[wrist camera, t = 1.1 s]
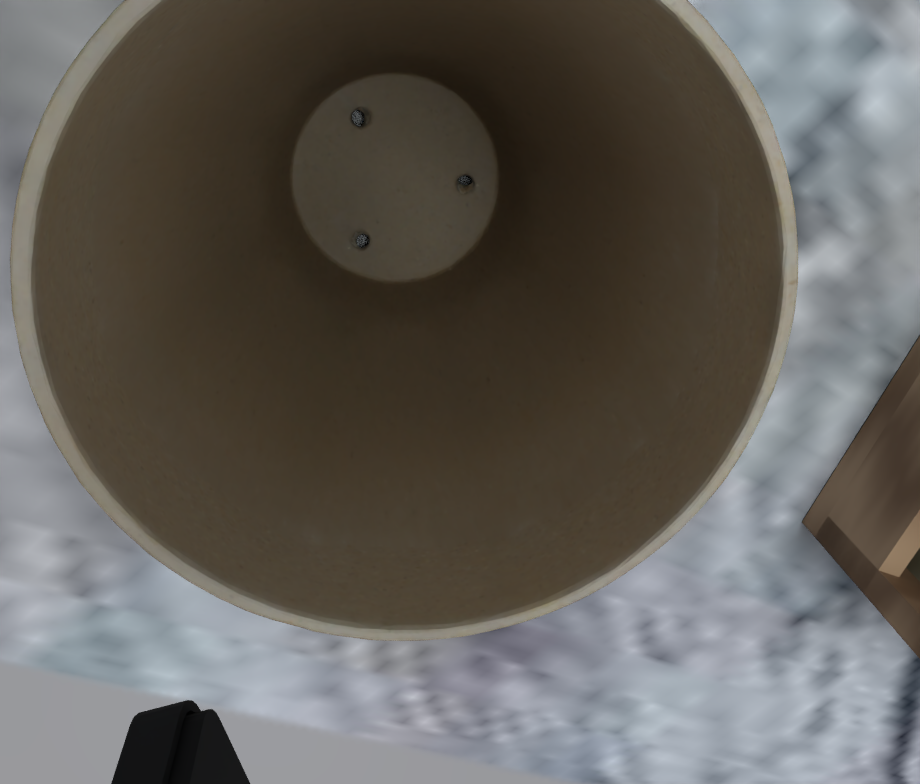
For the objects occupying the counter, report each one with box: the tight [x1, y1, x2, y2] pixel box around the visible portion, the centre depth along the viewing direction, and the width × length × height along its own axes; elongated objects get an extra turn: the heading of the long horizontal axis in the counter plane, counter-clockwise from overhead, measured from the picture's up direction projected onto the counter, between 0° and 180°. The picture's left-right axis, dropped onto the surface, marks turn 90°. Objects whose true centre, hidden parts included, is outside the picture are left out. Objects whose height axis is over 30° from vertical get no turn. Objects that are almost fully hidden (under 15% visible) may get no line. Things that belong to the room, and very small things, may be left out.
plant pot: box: [10, 0, 798, 641], centre depth 24 cm, size 15×15×16 cm
